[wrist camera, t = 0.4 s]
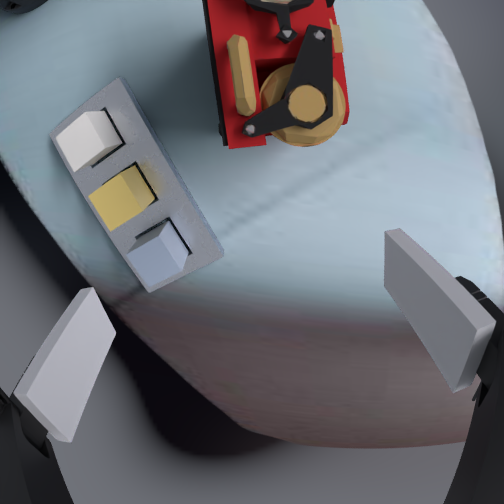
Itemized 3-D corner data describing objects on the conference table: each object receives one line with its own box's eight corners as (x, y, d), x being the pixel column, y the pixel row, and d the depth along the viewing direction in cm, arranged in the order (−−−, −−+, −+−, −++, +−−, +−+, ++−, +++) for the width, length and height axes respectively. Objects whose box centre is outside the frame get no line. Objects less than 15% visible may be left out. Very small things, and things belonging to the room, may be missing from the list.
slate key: (138, 237, 37) (125, 254, 33) (168, 220, 37) (158, 235, 32) (158, 267, 39) (149, 287, 35) (188, 252, 38) (182, 270, 34)
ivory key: (76, 133, 31) (55, 137, 27) (104, 110, 30) (85, 111, 26) (93, 164, 33) (74, 172, 29) (122, 143, 32) (105, 147, 28)
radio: (315, 129, 34) (389, 147, 16) (230, 139, 35) (218, 164, 17) (298, 10, 28) (348, -71, 10) (213, 18, 28) (186, -66, 10)
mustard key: (105, 185, 34) (88, 196, 30) (135, 165, 34) (119, 173, 29) (125, 217, 36) (110, 231, 32) (155, 198, 35) (143, 211, 31)
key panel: (56, 132, 33) (49, 134, 31) (124, 78, 31) (118, 77, 29) (152, 285, 43) (149, 293, 41) (224, 250, 41) (223, 256, 39)
